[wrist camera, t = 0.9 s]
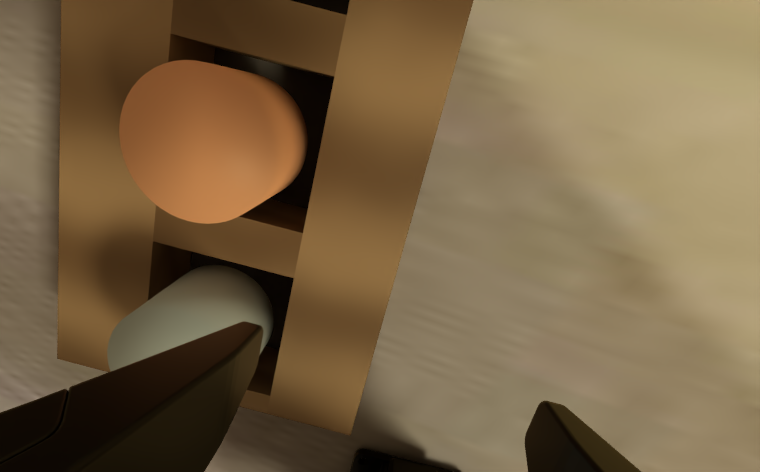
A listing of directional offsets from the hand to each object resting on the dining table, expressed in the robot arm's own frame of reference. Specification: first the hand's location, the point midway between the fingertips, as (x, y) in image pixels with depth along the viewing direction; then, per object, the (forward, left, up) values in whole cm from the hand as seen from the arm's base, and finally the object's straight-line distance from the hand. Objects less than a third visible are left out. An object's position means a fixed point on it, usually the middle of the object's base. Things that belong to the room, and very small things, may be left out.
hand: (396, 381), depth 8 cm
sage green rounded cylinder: (-5, +7, -9) cm, 13 cm away
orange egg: (+3, +7, -9) cm, 12 cm away
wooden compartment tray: (+3, +7, -12) cm, 14 cm away
